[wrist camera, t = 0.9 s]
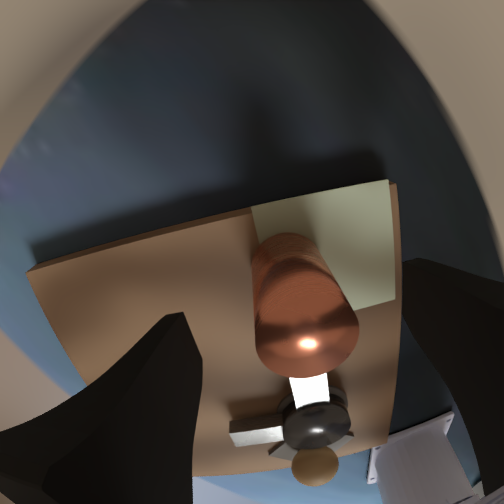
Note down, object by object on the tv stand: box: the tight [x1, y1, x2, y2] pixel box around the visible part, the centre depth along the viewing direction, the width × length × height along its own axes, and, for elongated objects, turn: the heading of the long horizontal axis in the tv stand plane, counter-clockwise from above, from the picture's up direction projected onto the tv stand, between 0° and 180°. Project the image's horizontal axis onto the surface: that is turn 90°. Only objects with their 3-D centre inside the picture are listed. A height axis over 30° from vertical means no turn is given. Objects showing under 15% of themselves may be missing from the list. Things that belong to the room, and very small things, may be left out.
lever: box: [229, 232, 359, 449], centre depth 13 cm, size 14×7×5 cm, turn 13°
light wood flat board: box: [26, 179, 402, 486], centre depth 15 cm, size 20×19×5 cm
